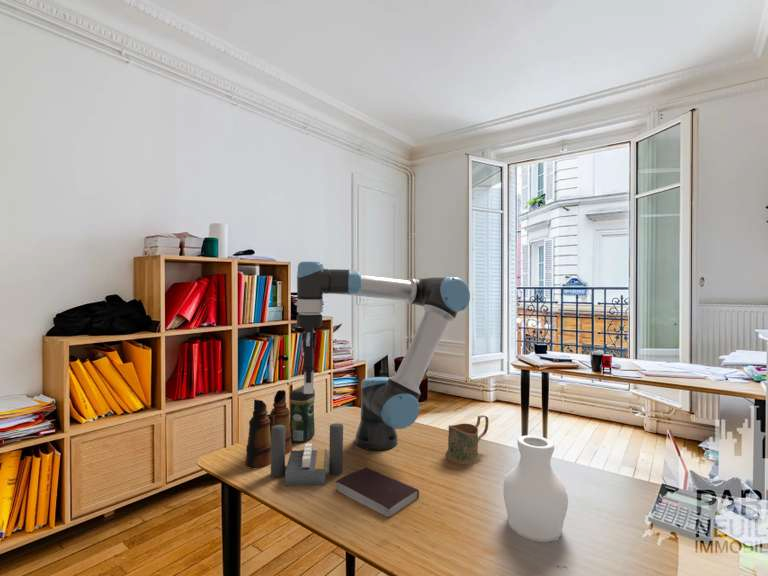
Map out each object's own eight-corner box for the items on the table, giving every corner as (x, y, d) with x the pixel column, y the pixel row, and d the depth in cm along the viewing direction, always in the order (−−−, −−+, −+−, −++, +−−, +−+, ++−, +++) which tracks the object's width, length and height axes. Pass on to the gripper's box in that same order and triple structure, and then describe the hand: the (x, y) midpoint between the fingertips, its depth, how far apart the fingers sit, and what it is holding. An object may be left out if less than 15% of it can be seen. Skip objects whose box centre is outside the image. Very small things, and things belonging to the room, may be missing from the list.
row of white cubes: (311, 451, 122) (311, 443, 122) (309, 467, 111) (309, 458, 111) (305, 451, 122) (305, 443, 122) (302, 467, 111) (302, 459, 111)
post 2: (342, 468, 120) (343, 423, 120) (342, 475, 116) (343, 427, 116) (329, 469, 119) (329, 423, 119) (328, 475, 116) (329, 428, 116)
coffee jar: (298, 432, 150) (299, 383, 150) (317, 434, 148) (318, 385, 148) (285, 441, 141) (286, 389, 141) (305, 444, 138) (305, 391, 138)
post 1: (285, 471, 118) (286, 424, 118) (283, 477, 114) (284, 429, 114) (271, 471, 117) (272, 425, 117) (269, 478, 113) (270, 429, 113)
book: (366, 476, 117) (366, 465, 117) (419, 499, 104) (419, 487, 104) (335, 492, 107) (335, 480, 107) (389, 520, 95) (389, 507, 95)
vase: (582, 539, 88) (583, 450, 88) (527, 550, 84) (528, 457, 84) (539, 505, 101) (540, 428, 101) (490, 513, 97) (492, 433, 97)
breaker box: (326, 462, 124) (326, 449, 124) (325, 484, 110) (325, 469, 110) (290, 463, 123) (291, 450, 123) (285, 486, 109) (285, 470, 109)
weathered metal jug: (500, 454, 132) (500, 419, 132) (463, 467, 122) (463, 429, 122) (474, 443, 142) (474, 409, 142) (437, 454, 132) (438, 418, 132)
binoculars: (260, 470, 118) (261, 404, 118) (239, 465, 121) (240, 400, 121) (297, 448, 135) (297, 390, 135) (277, 444, 138) (278, 387, 138)
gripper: (298, 312, 123) (297, 387, 123) (294, 315, 110) (293, 399, 110) (323, 312, 124) (322, 387, 124) (321, 315, 111) (320, 398, 111)
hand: (308, 392), depth 117 cm, fingers closed
